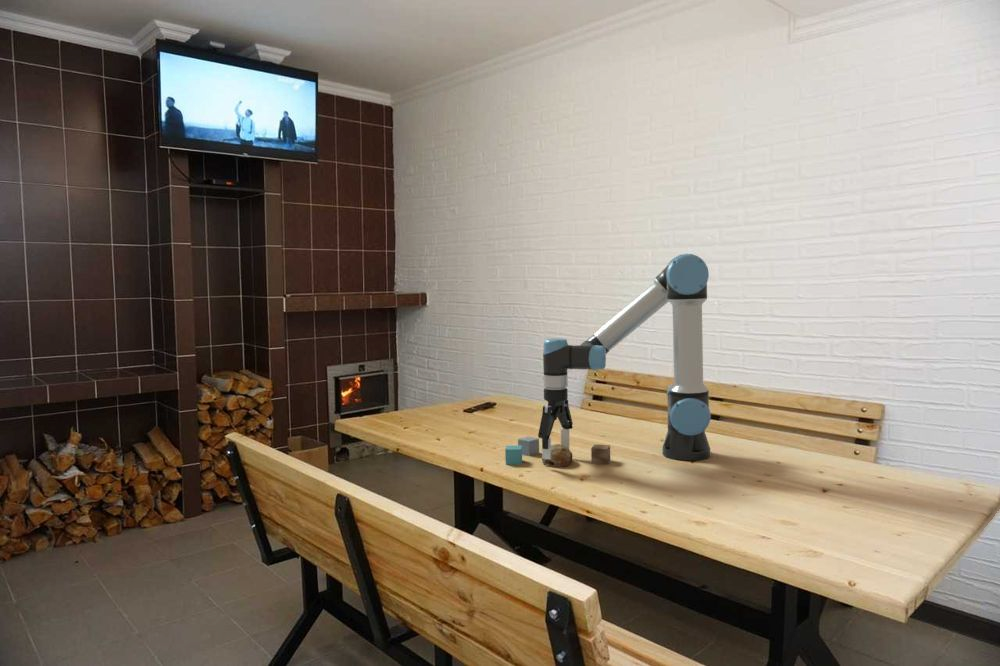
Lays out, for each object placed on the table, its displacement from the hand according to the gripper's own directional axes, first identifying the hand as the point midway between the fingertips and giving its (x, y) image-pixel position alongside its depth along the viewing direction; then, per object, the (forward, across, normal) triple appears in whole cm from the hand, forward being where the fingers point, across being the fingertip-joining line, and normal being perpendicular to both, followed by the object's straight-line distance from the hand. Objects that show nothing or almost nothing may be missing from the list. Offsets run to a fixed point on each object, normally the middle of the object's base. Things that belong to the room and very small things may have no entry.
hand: (556, 453), depth 224 cm
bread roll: (+3, 0, 0) cm, 3 cm away
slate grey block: (+3, -7, -14) cm, 16 cm away
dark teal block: (+3, +5, -13) cm, 14 cm away
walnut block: (+3, -7, +12) cm, 14 cm away
